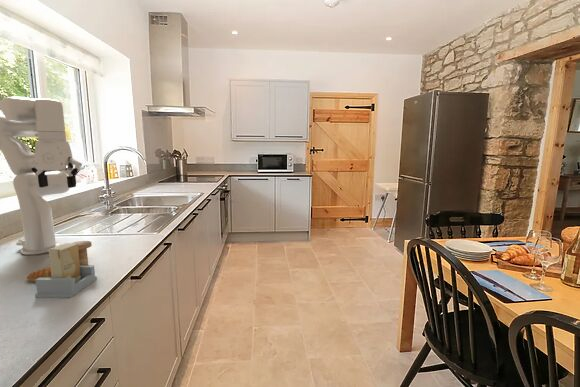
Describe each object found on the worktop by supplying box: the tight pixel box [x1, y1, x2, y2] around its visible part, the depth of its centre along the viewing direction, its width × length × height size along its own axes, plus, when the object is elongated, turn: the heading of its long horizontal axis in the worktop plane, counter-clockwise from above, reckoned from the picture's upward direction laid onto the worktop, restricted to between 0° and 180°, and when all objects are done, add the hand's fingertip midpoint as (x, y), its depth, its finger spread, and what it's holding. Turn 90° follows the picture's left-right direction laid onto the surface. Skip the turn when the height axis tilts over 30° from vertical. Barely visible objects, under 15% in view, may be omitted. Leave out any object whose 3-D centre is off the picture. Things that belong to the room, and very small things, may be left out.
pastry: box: [26, 266, 51, 283], centre depth 98 cm, size 9×7×4 cm
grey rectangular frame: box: [34, 264, 98, 299], centre depth 91 cm, size 10×12×5 cm
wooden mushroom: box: [72, 240, 93, 265], centre depth 102 cm, size 7×7×10 cm
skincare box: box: [48, 242, 81, 283], centre depth 91 cm, size 6×4×12 cm
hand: (58, 187), depth 104 cm, fingers open, 9 cm apart
